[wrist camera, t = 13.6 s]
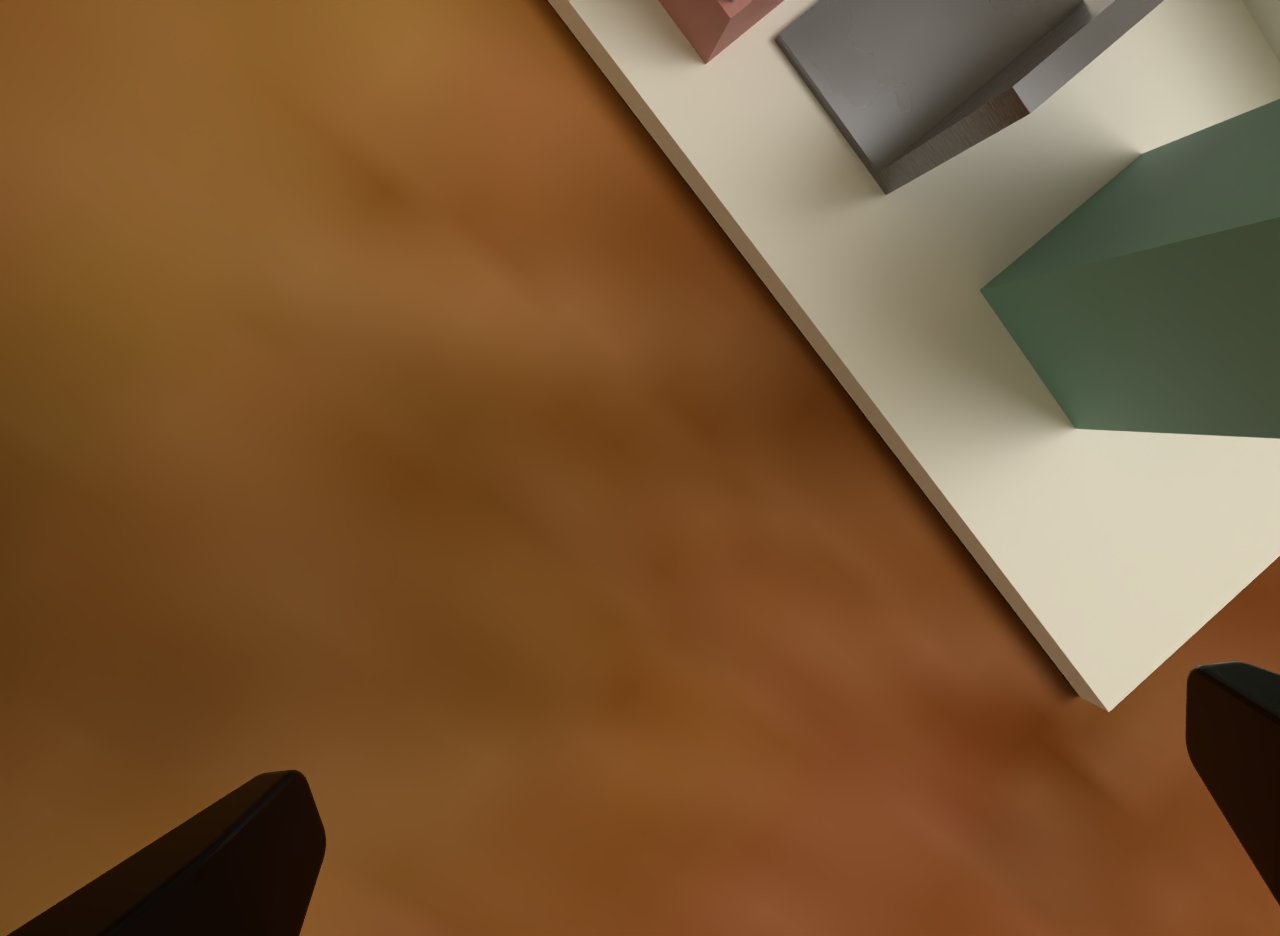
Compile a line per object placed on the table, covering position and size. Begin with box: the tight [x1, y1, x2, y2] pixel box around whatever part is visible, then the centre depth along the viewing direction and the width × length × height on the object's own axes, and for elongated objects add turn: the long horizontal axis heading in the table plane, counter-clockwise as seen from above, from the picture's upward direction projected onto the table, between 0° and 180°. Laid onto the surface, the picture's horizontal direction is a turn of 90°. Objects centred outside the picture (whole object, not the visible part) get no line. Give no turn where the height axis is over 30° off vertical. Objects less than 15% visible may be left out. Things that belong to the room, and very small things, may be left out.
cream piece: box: [548, 0, 1280, 712], centre depth 16 cm, size 14×22×6 cm, turn 40°
